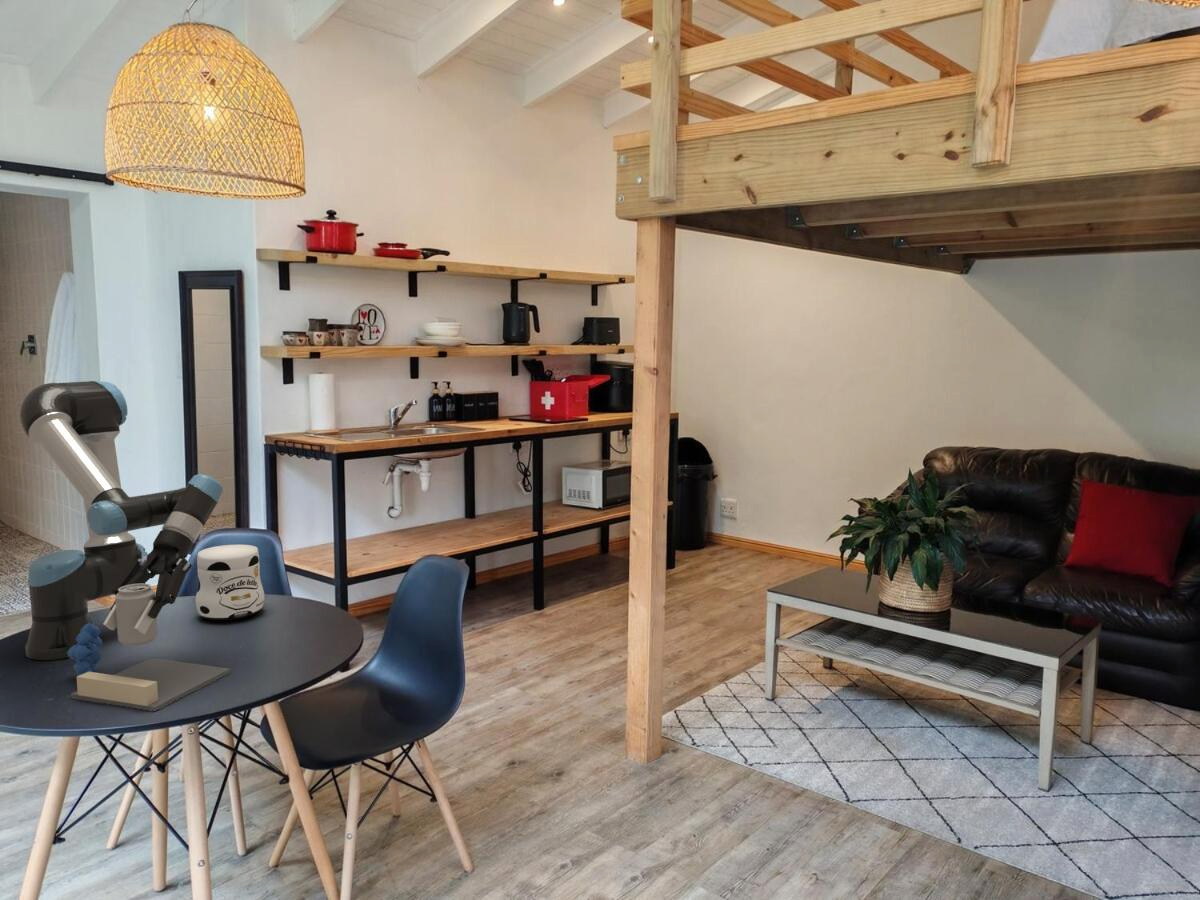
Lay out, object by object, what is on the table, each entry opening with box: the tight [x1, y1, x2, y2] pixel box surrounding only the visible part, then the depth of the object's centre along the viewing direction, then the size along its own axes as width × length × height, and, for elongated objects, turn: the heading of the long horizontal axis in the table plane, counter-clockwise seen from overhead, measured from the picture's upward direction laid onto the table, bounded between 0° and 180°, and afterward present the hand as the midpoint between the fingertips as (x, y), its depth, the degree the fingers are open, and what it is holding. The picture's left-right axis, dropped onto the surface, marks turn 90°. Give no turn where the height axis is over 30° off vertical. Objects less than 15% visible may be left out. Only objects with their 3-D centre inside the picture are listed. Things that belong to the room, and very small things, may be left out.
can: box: [114, 583, 158, 647], centre depth 187 cm, size 8×8×12 cm
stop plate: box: [70, 657, 231, 712], centre depth 192 cm, size 22×22×5 cm
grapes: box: [67, 623, 104, 676], centre depth 196 cm, size 12×7×12 cm, turn 12°
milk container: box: [195, 544, 265, 621], centre depth 240 cm, size 17×17×18 cm
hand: (124, 629), depth 184 cm, fingers closed on can, 7 cm apart
